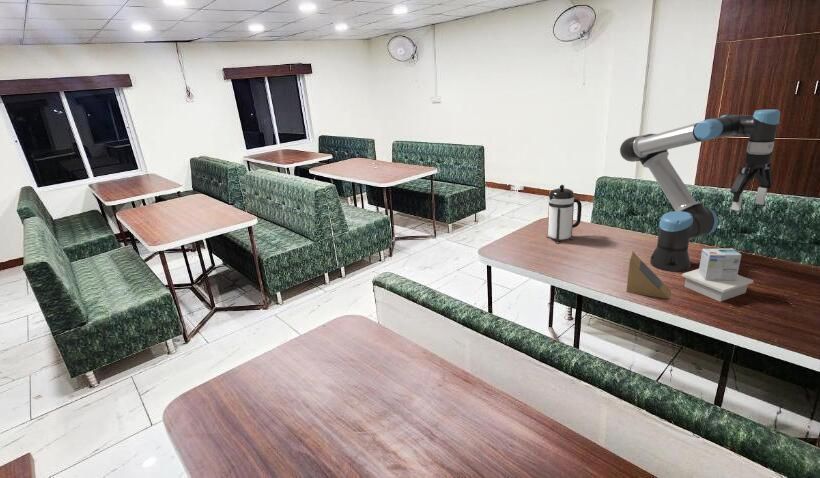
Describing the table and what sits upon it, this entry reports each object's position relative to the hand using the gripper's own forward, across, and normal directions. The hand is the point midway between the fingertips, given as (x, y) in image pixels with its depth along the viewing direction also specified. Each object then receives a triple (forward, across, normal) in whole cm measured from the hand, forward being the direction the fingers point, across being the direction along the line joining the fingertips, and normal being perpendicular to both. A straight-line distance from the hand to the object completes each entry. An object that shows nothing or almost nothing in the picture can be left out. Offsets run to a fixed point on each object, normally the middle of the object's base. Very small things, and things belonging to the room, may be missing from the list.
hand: (747, 206), depth 161 cm
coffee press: (+29, -32, +69) cm, 81 cm away
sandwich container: (+29, -41, +5) cm, 51 cm away
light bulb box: (+23, -20, -6) cm, 31 cm away
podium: (+29, -20, -6) cm, 35 cm away
